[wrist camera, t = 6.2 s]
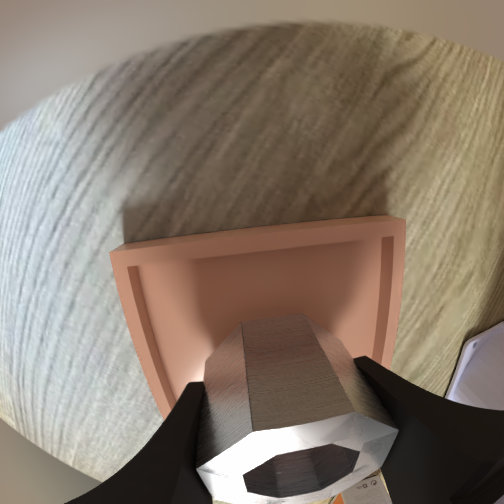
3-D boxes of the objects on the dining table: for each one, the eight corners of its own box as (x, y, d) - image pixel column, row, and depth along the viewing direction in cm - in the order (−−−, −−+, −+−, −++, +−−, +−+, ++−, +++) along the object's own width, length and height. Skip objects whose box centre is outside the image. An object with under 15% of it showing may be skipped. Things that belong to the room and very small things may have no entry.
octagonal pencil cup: (343, 306, 10) (414, 391, 5) (334, 404, 11) (371, 484, 6) (197, 325, 10) (178, 435, 5) (221, 421, 11) (222, 512, 6)
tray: (386, 214, 11) (405, 219, 10) (367, 403, 14) (376, 419, 12) (123, 243, 10) (109, 252, 9) (181, 431, 13) (178, 450, 12)
